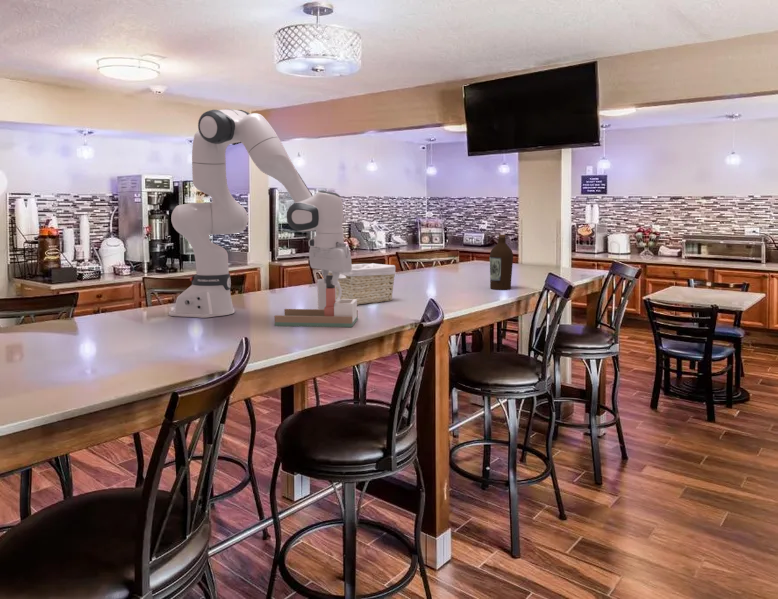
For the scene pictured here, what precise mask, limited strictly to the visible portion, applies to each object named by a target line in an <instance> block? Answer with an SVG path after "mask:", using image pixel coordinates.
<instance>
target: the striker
mask: <svg viewBox="0 0 778 599" xmlns="http://www.w3.org/2000/svg"><path fill="white" fill-rule="evenodd" d="M332 277H333V275H327V276H326V307H325V308H324V316H334V303H335V285H331V279H332Z"/></svg>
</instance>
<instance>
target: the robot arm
mask: <svg viewBox="0 0 778 599" xmlns="http://www.w3.org/2000/svg"><path fill="white" fill-rule="evenodd" d="M197 128H198V131H196V132H195V133H194V136H193V140H192V147H191V148H192V149H191V165H192V166H191V168H192V169H191V170H192V171H191V172H192V184H193V186H194V188H195V189H197V190H198V191H200V192H202V193H204V194H205V195H207V196H210V197H211V202H189V203H184V204H179V205H176V206H175V207H174V208H173V210H172V212H171V217H170V218H171V219H170V220H171V224H172V227H173V228H174V230H175V231H176V232H177V233H178V234H180V235H181V236H182V237H184V238H185V239H186V240H187V241H188V243H189V244H190V246H191V249H192V250H193V255H194V259H195V260H194V261H195V270H196V271H195V272H196V273H195V274H194V275H192V276H191V277H189V281H190V282H191V285H190V286H189V287H188V288H187V289H185V290H184V291H182V292H181V293H180V294H179V295H178V296H177V298H176V301H175V304H174V305H175V306H174V309H171V310H170V311H169V312H168V316H170V317H171V316H172V317H182V318H183V317H184V318H187V317H188V318H202V319H205V318H207V319H208V318H212V317H222V316H228V315H232V314H235V312H236V311H235V308H234V304H233V300H232V295H231V285H232V283H231V282H232V281H231V274H230V272H229V271H230V270H229V269H230V268H229V253H228V252H227V250H226V249H225V248H224V247H222V246H221V245H218V244H216V243H214V242H212V241H211V239H210V236H211V235H233V234H238V233H242V232H244V231H245V229H246V228H247V225H248V223H249V216H248V212H247V210H246V209H245V207H244V206H243V205H241V204H240V203H239V202H238V201H237V200H236V199H235V198H234V196H233V194H231V192H230V189H229V186H228V181H227V166H226V164H227V163H226V162H227V161H226V152H227V151H226V150H227V147H228V146H230V145H232V146H235V145H239V144H242V145H243V146H244V148H245V149H246V152H247V153H248V155H249V157H250V159H251V160H252V162H253V163H254V164H255V166H256V167H257V168H258V169H259V171H260V172H262V173H264V174H265V175H267V176H269V177H272V178H273V179H275V180H277V181H278V182H279V183H281V184H282V186H284V188H285V189H286V192H288V194H289V196H290V197H291V199H292V201H293V202H294V203H292V204H291V205H290V206H289V207H288V209H287V211H286V221H287V223H288V226H289V227H290V228H291V229H292V230H295V231H297V232H314V233H315V236H314V237H313V238H310V239H309V240H308V247H309V249H308V250H309V252H308V253H309V254H308V256H309V266H310V268H311V269H316V270H321V275H322V279H324V283H325V284H326V276H327V275H328V273H329V271H332V275H333V277H332V279H331V285H337V284H338V278H339V275H340V272H341V273H347V272H351V269H352V255H351V251H350V248H349V247H348V245H347V243H344V239H345V238H344V237H345V236H344V235H345V234H344V233H345V232H344V228H343V223H344V222H343V221H344V204H343V199H342V197H341V196H340V194H339V193H337V192H332V191H329V190H328V191H326V190H319V191H317V192H316V193H315V194H314V195H313V194H312V192H311V191H310V189H309V188H308V186H307V184H306V183H305V181H304V180H303V178H302V177H301V175H300V173H299V172H298V170H297V169H296V168H295V166H294V164H293V162H292V159H290V157H289V155H288V153H287V150H286V149H285V147H284V145H283V143H282V141H281V138H280V137H279V136H278V134H277V133H276V131H275V129H274V128H273V127H272V124H270V123H269V121H268V120H267V119H266V118H265V116H263V115H262V114H260V113H257V112H253V113H249V112H248V111H246V110H242V109H233V108H224V109H210V110H207V111H205V112H203V113H202V114H201V116H200V117H199V119H198V123H197Z"/></svg>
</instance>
